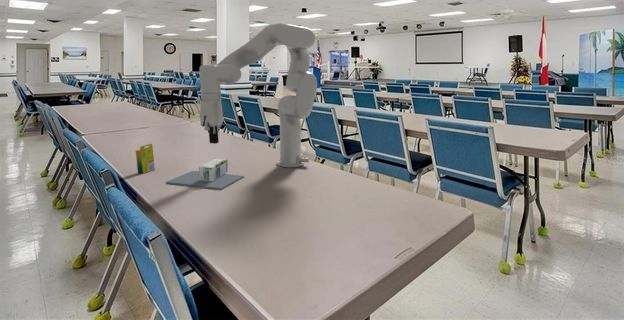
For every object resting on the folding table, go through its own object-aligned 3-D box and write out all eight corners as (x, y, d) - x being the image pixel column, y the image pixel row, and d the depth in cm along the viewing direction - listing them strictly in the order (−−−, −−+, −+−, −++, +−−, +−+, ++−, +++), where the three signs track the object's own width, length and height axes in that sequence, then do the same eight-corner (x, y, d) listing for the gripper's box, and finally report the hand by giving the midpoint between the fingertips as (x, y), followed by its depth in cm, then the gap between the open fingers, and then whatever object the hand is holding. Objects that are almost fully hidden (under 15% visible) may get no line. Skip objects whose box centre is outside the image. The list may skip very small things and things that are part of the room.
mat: (244, 177, 163) (244, 175, 163) (221, 189, 146) (221, 188, 146) (193, 172, 170) (193, 170, 170) (166, 183, 153) (165, 181, 153)
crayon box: (149, 169, 174) (147, 142, 171) (155, 169, 173) (153, 143, 170) (137, 173, 167) (134, 145, 164) (143, 174, 166) (140, 146, 163)
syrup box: (228, 172, 168) (212, 182, 154) (215, 171, 169) (198, 180, 155) (227, 159, 166) (212, 167, 153) (214, 158, 168) (198, 166, 154)
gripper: (212, 95, 165) (215, 139, 169) (191, 98, 151) (195, 146, 155) (229, 95, 162) (231, 140, 167) (209, 99, 149) (212, 147, 153)
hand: (214, 142), depth 161 cm, fingers closed
